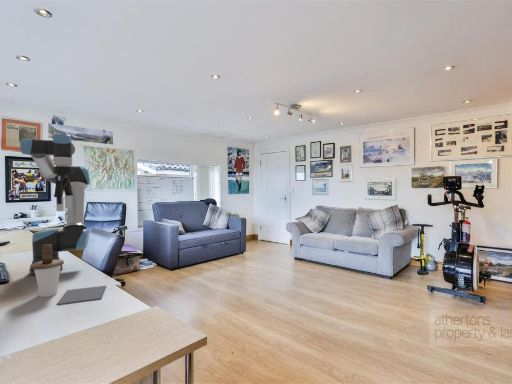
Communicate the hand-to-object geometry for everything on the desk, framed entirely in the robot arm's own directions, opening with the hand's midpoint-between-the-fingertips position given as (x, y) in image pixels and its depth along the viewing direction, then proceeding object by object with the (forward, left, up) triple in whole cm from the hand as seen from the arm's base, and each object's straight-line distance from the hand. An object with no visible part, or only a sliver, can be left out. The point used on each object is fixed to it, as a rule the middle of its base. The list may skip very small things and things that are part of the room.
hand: (64, 209), depth 141 cm
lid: (+14, -4, -23) cm, 27 cm away
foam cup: (+14, -4, -37) cm, 39 cm away
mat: (+21, +11, -36) cm, 43 cm away
